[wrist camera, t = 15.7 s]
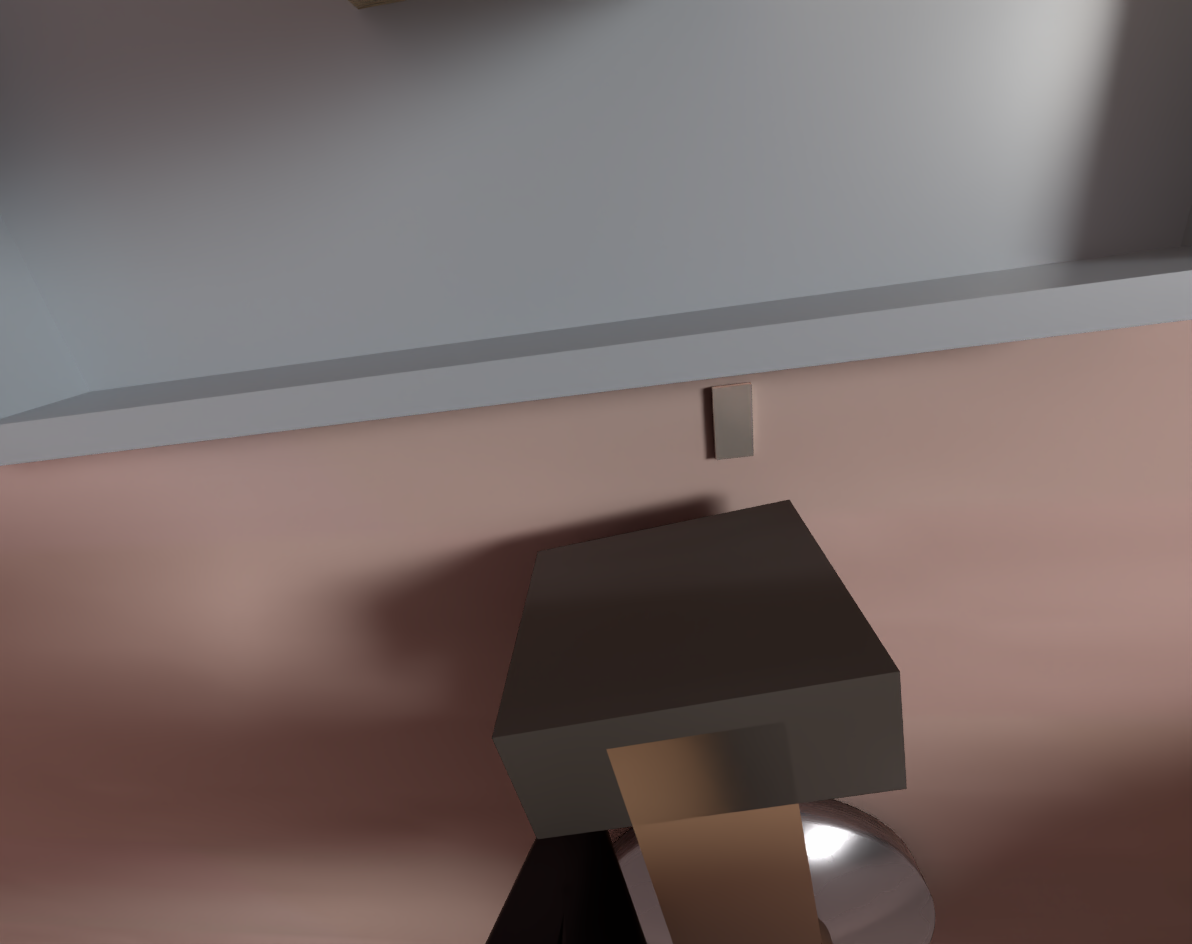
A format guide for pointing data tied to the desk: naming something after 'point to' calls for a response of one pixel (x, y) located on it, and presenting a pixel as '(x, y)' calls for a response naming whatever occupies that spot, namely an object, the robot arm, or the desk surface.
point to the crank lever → (701, 711)
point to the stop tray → (559, 198)
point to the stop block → (371, 3)
